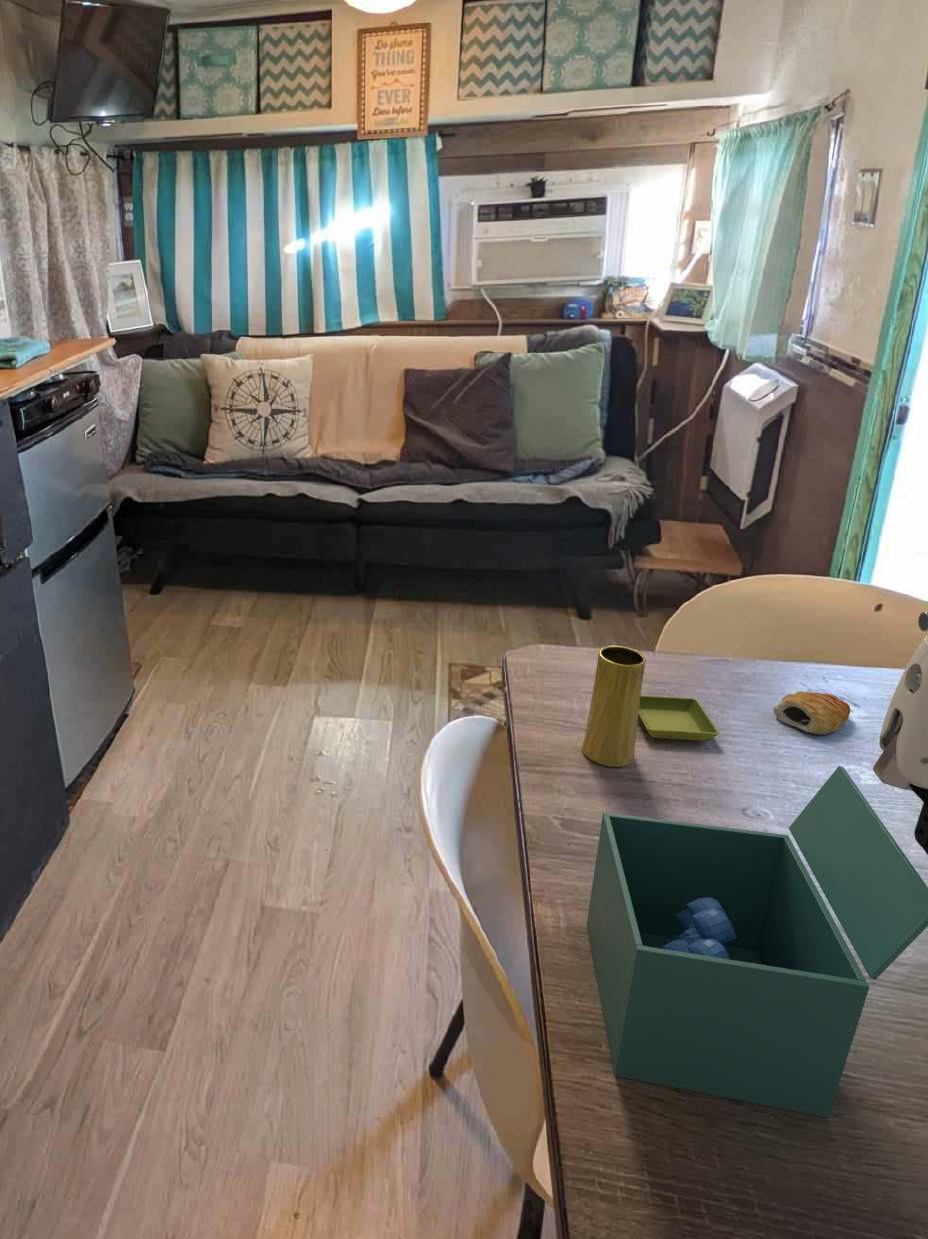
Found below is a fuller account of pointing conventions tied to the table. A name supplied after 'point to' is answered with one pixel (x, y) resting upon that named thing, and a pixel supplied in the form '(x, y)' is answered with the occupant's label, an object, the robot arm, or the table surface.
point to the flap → (862, 873)
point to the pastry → (813, 712)
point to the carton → (721, 966)
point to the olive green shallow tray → (676, 718)
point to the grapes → (702, 930)
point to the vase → (614, 707)
